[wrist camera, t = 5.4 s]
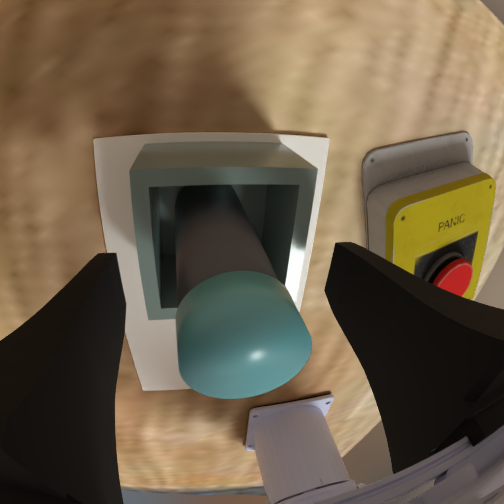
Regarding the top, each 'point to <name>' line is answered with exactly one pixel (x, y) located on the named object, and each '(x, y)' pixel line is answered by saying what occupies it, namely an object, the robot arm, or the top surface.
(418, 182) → the emergency button
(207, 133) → the white flat plate
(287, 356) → the marker
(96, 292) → the robot arm
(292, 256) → the grey-green hollow square block
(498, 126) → the top surface
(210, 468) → the top surface
